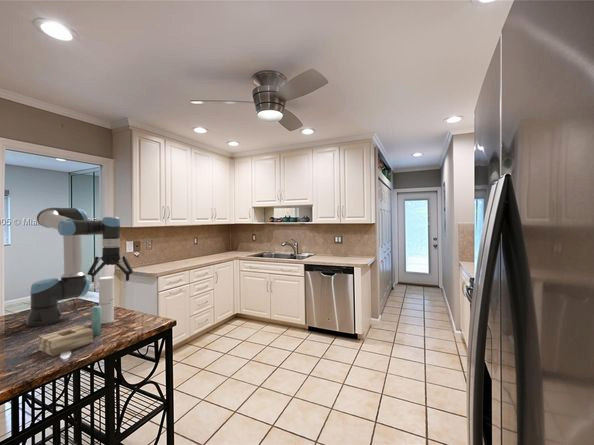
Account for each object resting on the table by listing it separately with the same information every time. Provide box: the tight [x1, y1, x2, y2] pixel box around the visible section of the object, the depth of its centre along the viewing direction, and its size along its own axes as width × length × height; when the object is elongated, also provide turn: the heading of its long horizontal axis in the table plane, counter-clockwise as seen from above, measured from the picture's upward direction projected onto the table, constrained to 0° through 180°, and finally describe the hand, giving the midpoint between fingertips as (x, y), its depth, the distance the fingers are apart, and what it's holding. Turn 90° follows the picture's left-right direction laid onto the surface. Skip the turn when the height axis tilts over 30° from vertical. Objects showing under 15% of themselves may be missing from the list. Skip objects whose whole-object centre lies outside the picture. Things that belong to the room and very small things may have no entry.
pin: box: [90, 305, 102, 337], centre depth 148 cm, size 4×4×14 cm
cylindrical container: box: [98, 276, 115, 324], centre depth 167 cm, size 7×7×25 cm
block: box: [38, 324, 94, 357], centre depth 134 cm, size 12×16×6 cm
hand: (110, 287), depth 151 cm, fingers open, 13 cm apart
